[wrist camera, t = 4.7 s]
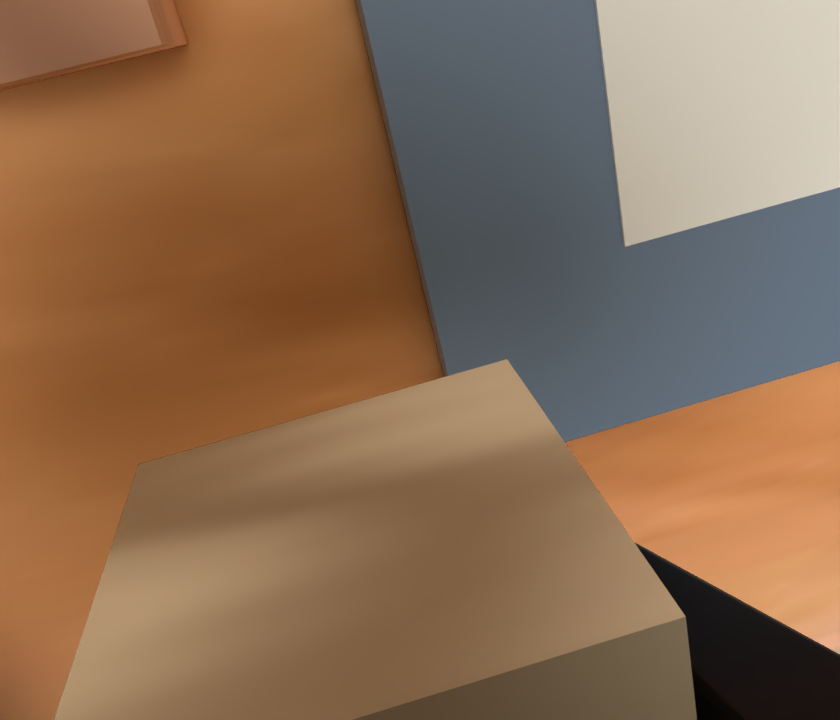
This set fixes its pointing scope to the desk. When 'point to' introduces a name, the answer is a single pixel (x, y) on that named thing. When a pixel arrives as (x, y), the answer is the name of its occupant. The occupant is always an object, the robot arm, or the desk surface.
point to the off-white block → (381, 576)
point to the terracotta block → (80, 35)
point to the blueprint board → (619, 191)
